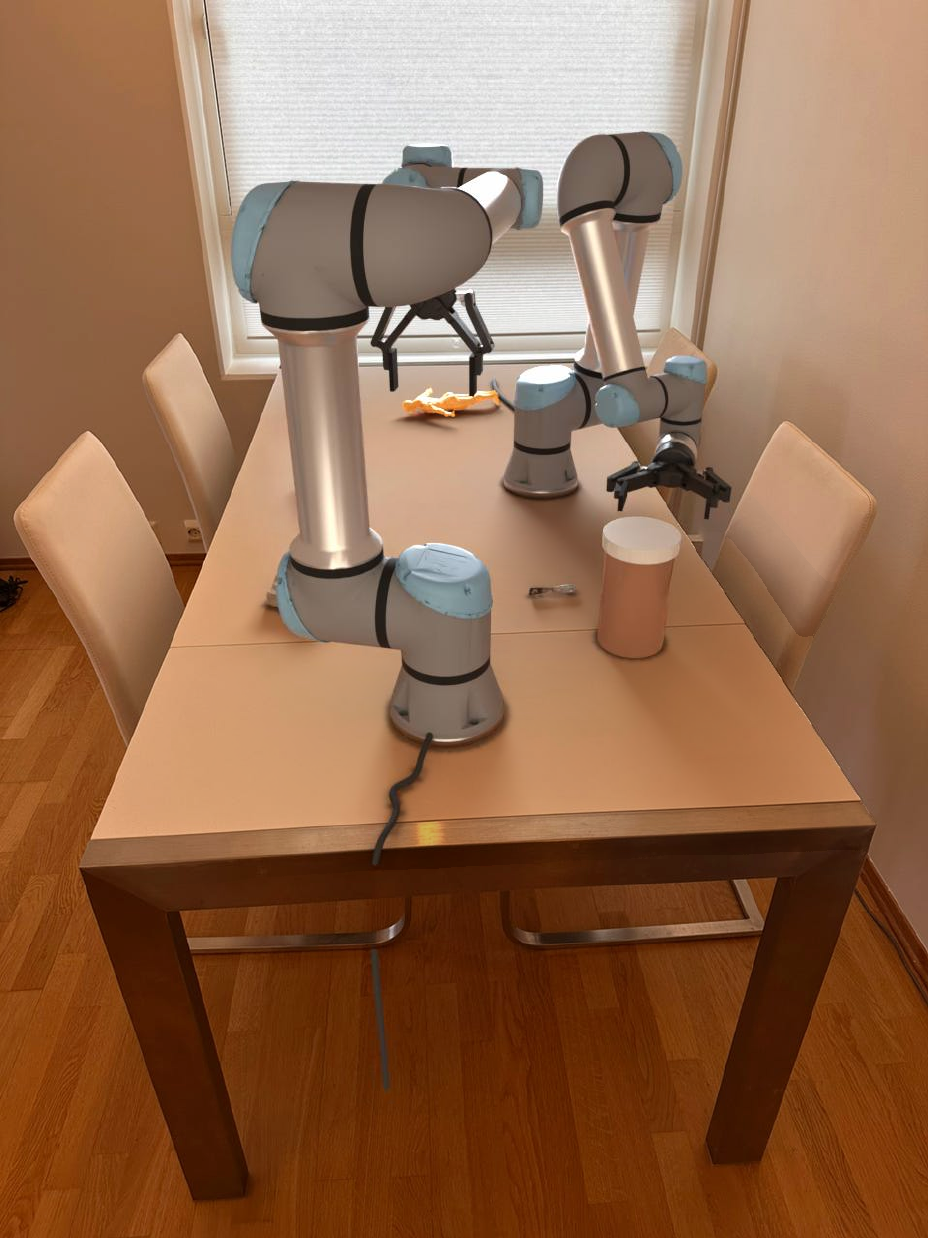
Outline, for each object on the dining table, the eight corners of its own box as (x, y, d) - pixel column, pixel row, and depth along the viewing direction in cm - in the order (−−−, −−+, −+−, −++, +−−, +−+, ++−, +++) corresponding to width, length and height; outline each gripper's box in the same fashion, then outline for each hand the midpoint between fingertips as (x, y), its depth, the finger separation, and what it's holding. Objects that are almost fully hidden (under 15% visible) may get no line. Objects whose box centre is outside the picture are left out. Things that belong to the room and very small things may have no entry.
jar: (584, 642, 135) (593, 537, 126) (619, 615, 142) (629, 514, 132) (641, 666, 130) (654, 558, 121) (674, 637, 136) (689, 533, 127)
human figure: (395, 413, 223) (394, 398, 221) (438, 390, 237) (438, 375, 235) (462, 429, 215) (462, 413, 213) (502, 404, 229) (503, 388, 227)
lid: (586, 548, 127) (587, 535, 126) (627, 522, 134) (628, 509, 133) (654, 572, 121) (656, 558, 120) (693, 544, 128) (695, 530, 127)
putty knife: (576, 592, 148) (577, 584, 147) (529, 598, 146) (530, 589, 145) (574, 589, 149) (575, 581, 148) (528, 595, 147) (528, 586, 146)
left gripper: (513, 255, 139) (510, 389, 150) (360, 249, 144) (368, 380, 155) (505, 264, 133) (502, 403, 144) (345, 258, 137) (355, 393, 149)
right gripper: (743, 486, 158) (741, 536, 140) (603, 475, 164) (584, 521, 147) (749, 446, 154) (748, 492, 137) (605, 435, 160) (586, 478, 143)
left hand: (433, 391), depth 149 cm, fingers open, 13 cm apart
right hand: (663, 507), depth 142 cm, fingers open, 13 cm apart
